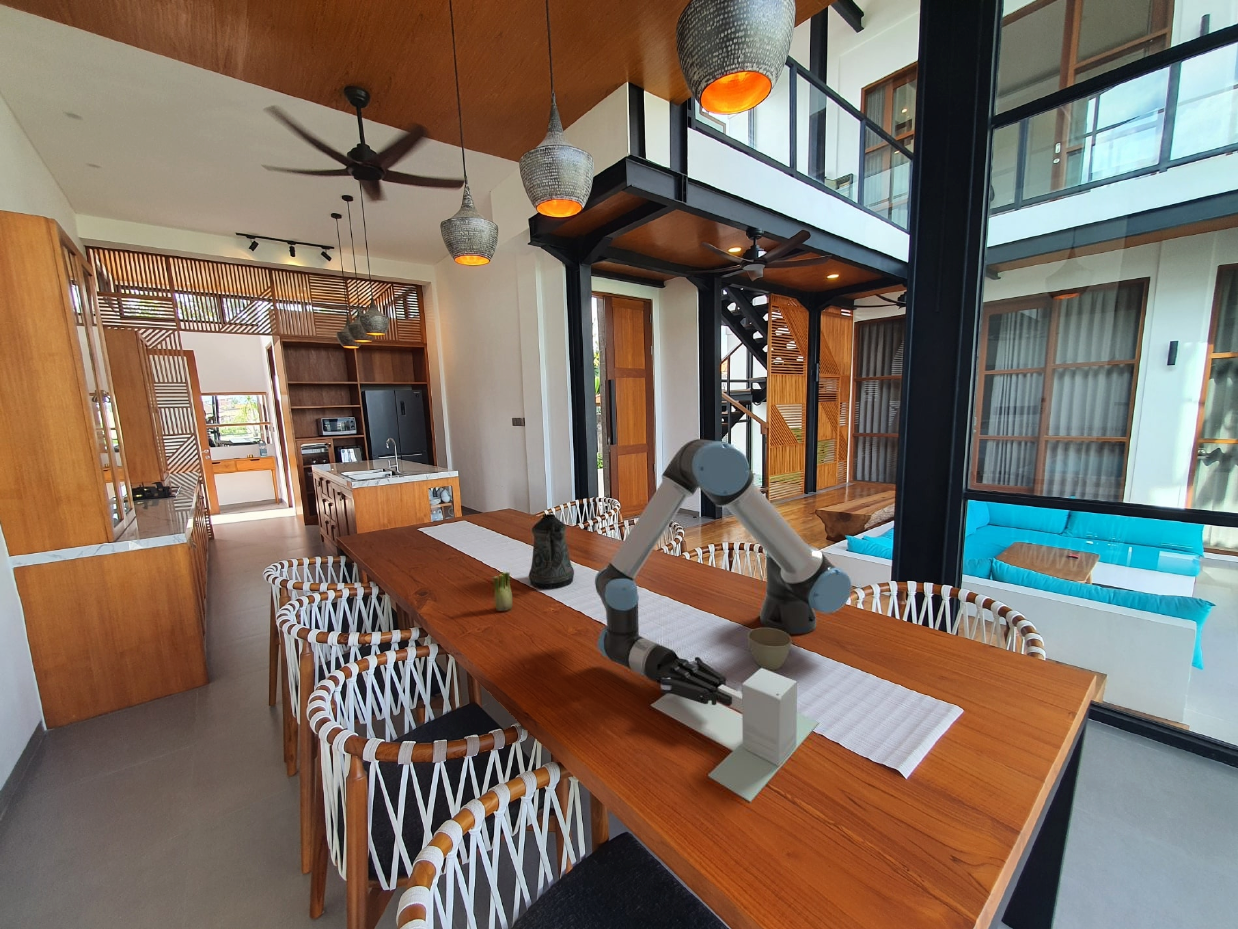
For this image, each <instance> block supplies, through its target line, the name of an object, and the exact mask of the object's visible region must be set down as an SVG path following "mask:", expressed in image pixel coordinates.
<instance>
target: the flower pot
mask: <svg viewBox="0 0 1238 929" xmlns="http://www.w3.org/2000/svg"><path fill="white" fill-rule="evenodd" d="M792 639H793V638H792V637H791V635H790V634H787V633H785V632H783V631H781V630H778V629H774V628H767V627H757V628H753V629H751V630H750V631H748V633H747V640H748V643H749V644H748V645H749V647H750V648H749V649H750V652H751V653H752V656H753V658H754V660H755V662H756V663H757V664H758V666H759V667H760V668H763V669H766V670H768V671H777V670H779V669H780V668H781V667H782V666H783V664H784V662H785V661H786V660H787V658H788V655H789V653H790V650H791V646H792Z"/></svg>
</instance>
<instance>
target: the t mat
mask: <svg viewBox="0 0 1238 929" xmlns="http://www.w3.org/2000/svg"><path fill="white" fill-rule="evenodd" d="M701 697H702V696H701ZM650 706H651V707H653V708H655V710H658V711H660V712H661V713H663V714H665V715H667V716H669V717H671V718H673V719H675V720H676V721H678V722H680V723H682V724H683V725H685V726H687V727H689V728H690V729H693V730H694V731H696V732H698V733H699V734H702V735H703V736H705V737H707V738H709V739H711V740H712V741H714V742H716V743H718V744H719V745H721V746H724V747H725V748H727V749H728V750H730V751H732V752H730V753H729V754H728V755H727V756H726V757H725V758H724V759H723V760H722V761H721V762H720V763H719V764H718V765H717V766H716V767H715V768H713V770H712V771H710V773H708V775H707V776H708V777H709V778H711V779H712V780H714V781H715V782H717V783H718V784H720V785H722V786H723V787H725V788H727V789H729V790H730V791H732V792H733V793H735V794H736V795H737V796H740V797H741V798H743V799H745V800H746V801H747V802H749V803H752V801H753V800H754V799H755V798H756V796H758V794H759V793H760V792H761V790H763V788H764V787H765V786H767V784H768V783H769V782H770V780H772V778H773V777H774V776H775V775H776V774H777V772H779V770H780V769H781V767H782V766H783V765H784V764H785V763H786V762H787V761H788V760H789V758H790V757H791V756H792V755H793V754H794V753H795V751H796V750H797V749H799V747H800V746H801V745H802V744H803V742H804V741H805V740H806V739H807V738H808V736H810V734H811V733H812V732H813V731H814V730H815V728H816V727H817V726H818V725H819V724H820V722H819V721H817V720H815V719H813V718H810V717H808V716H806V715H804V714H801V713H799V712H797V745H796V747H795V748H794V749H793V750H792V752H791V753H790V754H789V755H788V756H787V758H786V759H785V760H784V761H783V762H782V763H781V765H780V766H777V765H775V764H773V763H771V762H769V761H767V760H766V759H764V758H762V757H760V756H758V755H756V754H754V753H752V752H750V751H748V750H746V749H744V748H743V734H742V713H741V712H738V711H735V709H733V708H732V709H731V708H729V706H726V705H724V704H722V703H720V702H717V704H716V705H712V701H711V700H710V701H708V704H703V703H699V702H696V701H693V700H690V699H687V698H684V697H680V696H677V695H674V694H669V693H665V695H663V696H661V697H659V699H657V700H656V701H655V702H653V703H651V704H650Z"/></svg>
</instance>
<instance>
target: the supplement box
mask: <svg viewBox="0 0 1238 929" xmlns="http://www.w3.org/2000/svg"><path fill="white" fill-rule="evenodd" d="M741 693H742V712H741V714H742V734H743V748H744V749H746V750H748V751H750V752H752V753H754V754H756V755H758V756H760V757H762V758H764V759H766V760H767V761H769V762H771V763H773V764H775V765H777V766H780V765H781V763H782V762H783V761H784V760H785V759H786V758H787V756H788V755H789V754H790V753H791V752H792V750H793V749H794V748H795V747H796V745H797V713H798V682H797V681H796V680H794V679H791V678H788V677H786V676H783V675H781V674H778V673H775V672H774V671H772V670H767V669H764V668H762V667H760V668H759V669H758V670H757V671H755V673H752V675H751V676H750V677H749V678H747V679H745V680H744V681H743V682H742V683H741Z"/></svg>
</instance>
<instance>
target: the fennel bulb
mask: <svg viewBox="0 0 1238 929" xmlns="http://www.w3.org/2000/svg"><path fill="white" fill-rule="evenodd" d="M510 573H511V572H510V571H509V572H508V571H507V572H502V573H501V574H499V575H498V576H496V575H495V576H494V577H493V584H494V606H495V609H496V610H497V611H498V612H507V611H511V609H512V608H513V592H512V589H511V583H510V582H511V581H510V575H511V574H510Z"/></svg>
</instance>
